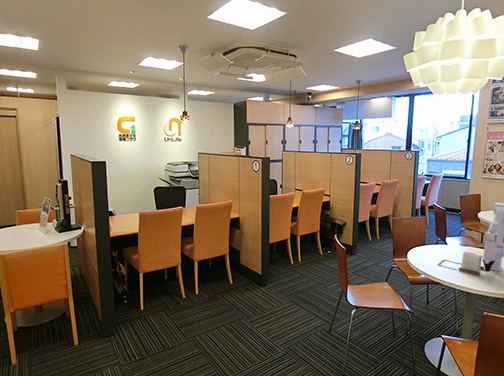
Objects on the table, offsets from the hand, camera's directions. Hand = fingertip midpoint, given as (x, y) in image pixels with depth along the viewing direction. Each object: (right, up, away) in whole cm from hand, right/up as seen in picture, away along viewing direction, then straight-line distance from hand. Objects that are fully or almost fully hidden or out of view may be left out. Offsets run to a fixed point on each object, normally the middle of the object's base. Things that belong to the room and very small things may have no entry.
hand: (487, 271), depth 196 cm
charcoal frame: (-14, 0, +15) cm, 20 cm away
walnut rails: (-6, -1, +6) cm, 9 cm away
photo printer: (-6, -1, +7) cm, 9 cm away
